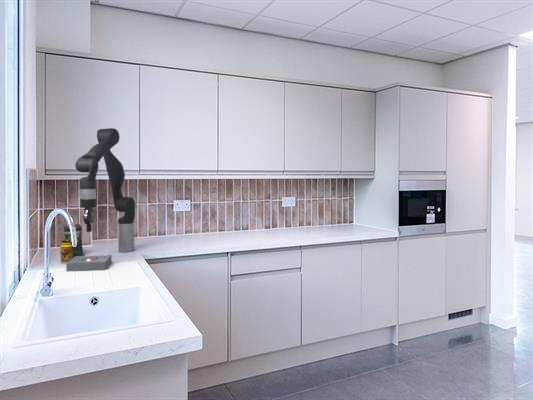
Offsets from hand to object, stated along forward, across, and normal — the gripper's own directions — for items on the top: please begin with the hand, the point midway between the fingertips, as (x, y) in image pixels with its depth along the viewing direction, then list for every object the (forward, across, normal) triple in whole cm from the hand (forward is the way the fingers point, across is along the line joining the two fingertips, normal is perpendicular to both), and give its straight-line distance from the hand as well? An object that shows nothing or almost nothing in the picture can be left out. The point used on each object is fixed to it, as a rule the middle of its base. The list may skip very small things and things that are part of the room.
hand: (89, 231), depth 203 cm
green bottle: (+19, -26, -15) cm, 35 cm away
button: (+18, 0, 0) cm, 18 cm away
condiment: (+19, -14, -15) cm, 28 cm away
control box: (+18, 0, 0) cm, 18 cm away
